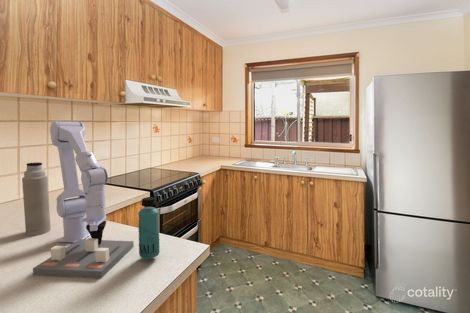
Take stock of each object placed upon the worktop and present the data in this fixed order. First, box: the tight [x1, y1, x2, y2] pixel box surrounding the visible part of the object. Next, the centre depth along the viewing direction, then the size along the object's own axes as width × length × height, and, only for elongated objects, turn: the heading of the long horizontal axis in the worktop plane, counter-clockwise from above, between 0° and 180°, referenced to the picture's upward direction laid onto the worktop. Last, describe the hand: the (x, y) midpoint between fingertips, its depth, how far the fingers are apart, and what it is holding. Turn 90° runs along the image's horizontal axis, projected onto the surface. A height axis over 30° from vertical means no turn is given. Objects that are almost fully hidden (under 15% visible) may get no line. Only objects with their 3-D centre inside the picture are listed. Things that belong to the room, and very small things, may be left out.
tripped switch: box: [85, 237, 98, 252], centre depth 85 cm, size 2×3×4 cm, turn 86°
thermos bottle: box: [21, 161, 52, 236], centre depth 104 cm, size 8×8×28 cm
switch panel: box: [32, 238, 135, 279], centre depth 83 cm, size 20×20×6 cm
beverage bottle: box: [137, 196, 160, 260], centre depth 83 cm, size 6×7×20 cm
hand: (97, 244), depth 88 cm, fingers closed
